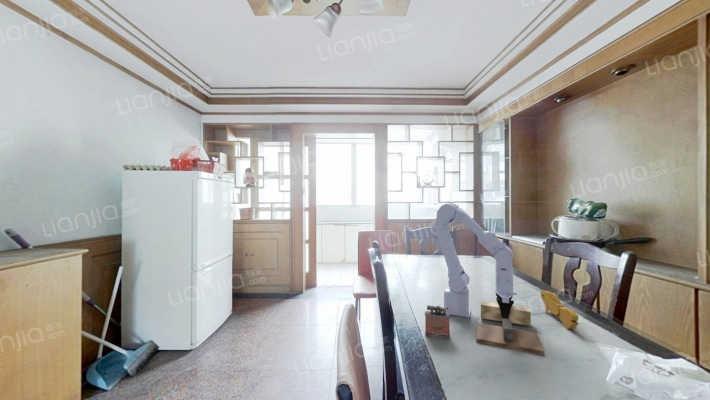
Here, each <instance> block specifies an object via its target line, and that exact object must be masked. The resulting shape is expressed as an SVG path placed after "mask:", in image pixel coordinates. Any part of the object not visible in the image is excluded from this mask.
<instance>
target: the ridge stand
mask: <svg viewBox="0 0 710 400" xmlns="http://www.w3.org/2000/svg"><path fill="white" fill-rule="evenodd" d="M501 322H502V326H499V325H493V324H487V323H480V322H477V326H476V327H477V328H476V343H479V344H484V345H489V346H494V347H499V348H504V349H509V350H515V351H521V352H526V353H531V354H536V355H541V356H545V350H544V347H543V345H542V342H541V340H540V336H539V333H538V332H535V331H527V330H522V329H517V328H513V325H512V323H511V320H510V319H503V318H502V321H501Z"/></svg>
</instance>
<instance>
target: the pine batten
mask: <svg viewBox="0 0 710 400" xmlns="http://www.w3.org/2000/svg"><path fill="white" fill-rule="evenodd" d="M531 313H532V311H531V309H530V307H526V306H525V307H524V306H519V305H514V304H513V305H512V307H511V310H510V315H509V318H508V319H510V320H511V324H516V325H521V326H522V325H523V326H529V327H532V326H531V325H532V323H531V322H532V319H531V318H532V317H531V316H532V315H531ZM480 319H485V320H490V321H491V320H492V321H498V322H502V317H501V312H500V307H499V304H498V302H496V303H495V302H490V301H483V300H481V301H480ZM503 319H505V318H503Z"/></svg>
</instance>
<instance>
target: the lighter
mask: <svg viewBox="0 0 710 400" xmlns="http://www.w3.org/2000/svg"><path fill="white" fill-rule="evenodd" d="M424 316H425V317H424V318H425V330H424V335H425V337H428V338H433V339H439V340H450V339H451V334H450V318H451V317H450V316H451V314H447V313H446V308H444V306H443V307H441V305H436V306H435V305H427V306H426V311H424Z"/></svg>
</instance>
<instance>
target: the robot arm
mask: <svg viewBox="0 0 710 400" xmlns="http://www.w3.org/2000/svg"><path fill="white" fill-rule="evenodd" d="M453 221H454V222H459V223H462V224H463V225H464V226H466V227H467V228H468V229H469V230H470V231H471V232H472V233H474V234H475V236H477V237H478V238H477V239H478V240H477V241H478V243H480V244H481V245H482V246H483V248H484V249H486V250H487V251H488V252H489V253H490V254H491V255H493V257H494V260H495V289H494V290H495V291H494V292H495V296H496V297H495V300H496V303H498V304H499V307H500V312H501V317H502V318H505V319H508V318H509V315H510V310H511V307H512V305H513V306H514V304H515V301H514V300H513V296H517V295H518V291H515V290H514V267H513V266H514V265H513V264H514V263H513V258H514V252H513V249H511V247H510V246H508V245H507V243H505V242H503V241H501V240H500V239H499V237H498V236H496V235H497V234H496V233H495V232H491V230H484V229H483V228H482V227H481V226H480V225H479V223H477V222H476V221H475V220H474V219H473V218H472V217H471V216H470V215H469V214H468V213H467V212H466V210H463V208H461V207H459V206H458V204H455V203H444V204H442V205H441V206H440V207H439V209H437V211H436V218H435V222H434V229H435V233H436V235H437V238H438V242H439V245H440V248H441V251H442V254H443V257H444V260H445V263H446V266H447V277H448V287H449V288H445V289H444V293H443V307H444V308H446V313H447V314H449V315H450V316H451V315H452V316H456V317H464V318H470V317H471V308H470V290H469V288H468V285H469V283H470V277H469V275H468V273H466V272H465V269H464V267H463V266H462V265H461V263H460V258H459V256H458V253H457V251H456V247H455V244H454V241H453V239H452V235H451V233H450V232H451V231H450V229H449V228H450V226H451V224H452V223H453Z"/></svg>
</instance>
